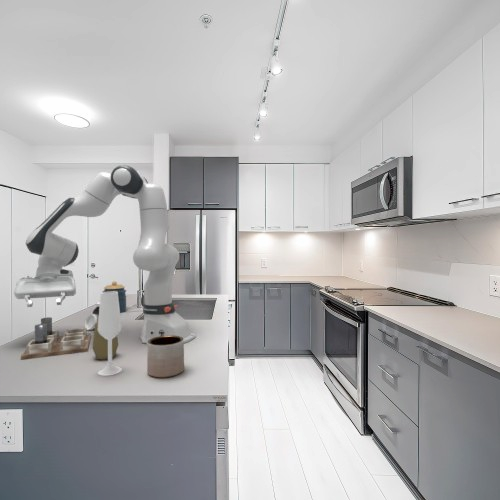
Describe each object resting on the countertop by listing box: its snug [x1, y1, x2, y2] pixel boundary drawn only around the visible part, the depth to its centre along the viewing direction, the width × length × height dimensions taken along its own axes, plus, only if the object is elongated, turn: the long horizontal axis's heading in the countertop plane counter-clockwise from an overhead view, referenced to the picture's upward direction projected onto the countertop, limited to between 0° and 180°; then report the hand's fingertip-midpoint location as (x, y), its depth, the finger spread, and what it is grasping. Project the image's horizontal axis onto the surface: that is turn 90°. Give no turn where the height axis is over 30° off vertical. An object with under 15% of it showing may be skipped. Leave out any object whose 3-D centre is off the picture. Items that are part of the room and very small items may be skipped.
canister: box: [102, 281, 128, 314], centre depth 185 cm, size 13×13×18 cm
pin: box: [34, 323, 47, 344], centre depth 113 cm, size 4×4×9 cm
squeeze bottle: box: [92, 316, 119, 360], centre depth 109 cm, size 8×8×18 cm
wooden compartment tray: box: [20, 316, 92, 360], centre depth 120 cm, size 20×20×10 cm
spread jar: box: [84, 301, 100, 331], centre depth 148 cm, size 12×11×12 cm
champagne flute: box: [97, 291, 123, 377], centre depth 97 cm, size 7×7×24 cm
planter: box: [146, 335, 185, 379], centre depth 96 cm, size 11×11×10 cm
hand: (44, 305), depth 120 cm, fingers open, 8 cm apart
